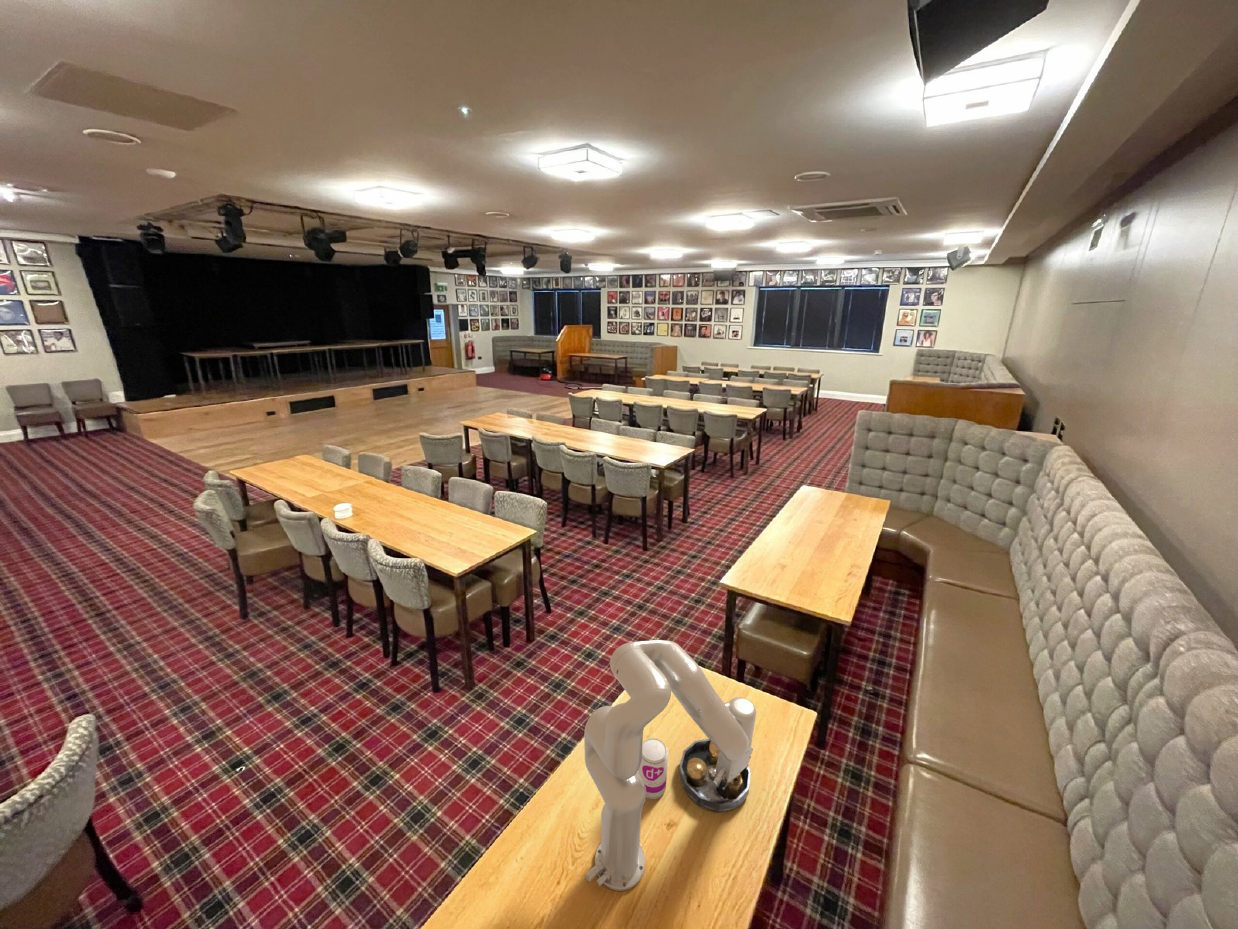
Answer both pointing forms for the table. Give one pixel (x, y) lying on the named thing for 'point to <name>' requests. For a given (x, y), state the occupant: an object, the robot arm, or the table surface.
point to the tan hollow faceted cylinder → (734, 787)
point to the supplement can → (654, 767)
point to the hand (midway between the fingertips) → (731, 784)
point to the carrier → (707, 778)
